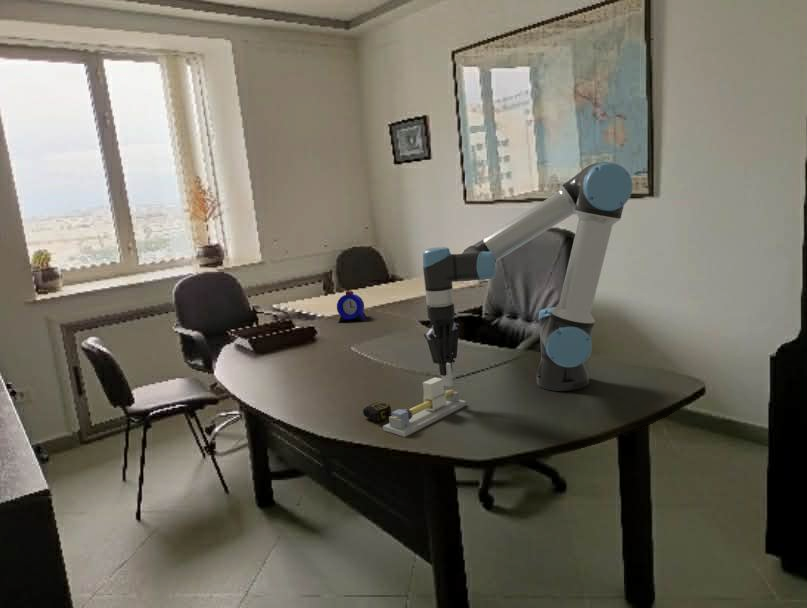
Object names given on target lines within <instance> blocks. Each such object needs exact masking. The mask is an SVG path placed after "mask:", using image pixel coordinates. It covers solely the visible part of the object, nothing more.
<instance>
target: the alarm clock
mask: <svg viewBox="0 0 807 608" xmlns="http://www.w3.org/2000/svg"><path fill="white" fill-rule="evenodd" d="M364 302H365V301H364V300H363V299H362V297H360V295H358V294H354V292H353V291H352V290H348V291H345V294H344V295H342V296H340V298H339V299H338V301H337V304H336V310H337V311H336V312H337V313H338V315H340V317H339V320H338V324H339V323H341V322H344V321H346V320H352V319H355V320H358V321H360V322H363V321H364V320H365V319H366V318H367V315H366V314H365V313H364V310H365V303H364Z"/></svg>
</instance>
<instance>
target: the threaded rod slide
mask: <svg viewBox="0 0 807 608" xmlns="http://www.w3.org/2000/svg"><path fill="white" fill-rule="evenodd" d="M444 393H445V395H446V405H447V406H445V407H443V408H441V409H439V410H437V411H435V412H434V411H430V410H426V409H427V408H429V407H431V406H432V400H428V401H426V402H424V401H423V403H420V404H417V405H416V406H414V407H411V408H404V409H401V408H398V409H396V410H394V411H391V415H390V416H389V417H388V421H389V423H387V424H384V425H382V429H383V432H384V431H385V432H388V433H391V434H395V435H398V436H400V437H403V438H405V437H408V436H409V435H412V434H414V433H415V432H417V431H419V430H421V429H423V428H426V427H427V426H429V425H431V424H433V423H434V422H437V421H439V420H441V419H442V418H444V417H446V416H448V415H450V414H452V413H455V412H456V411H458V410H460V409H462V408H464V407H466V406H467V400H462V399H460V393H459V392H458V391H455V390H453V389H446V390H445V389H444Z"/></svg>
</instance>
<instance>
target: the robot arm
mask: <svg viewBox="0 0 807 608" xmlns="http://www.w3.org/2000/svg"><path fill="white" fill-rule="evenodd" d="M632 193H633V179H632V177H631V175H630V172H628V170H627V169H626V168H625V167H623V166H622V165H620V164H618V163H615V162H612V161H609V162H608V161H601V162H596V163H592V164H589V165H587V166H586V167H584V168H583V169H582V170H580V172H578V173H576V175H574V176H573V177H571V179H569V180H567V181H566V182H565V183H563V184H562V185H560V187H559V191H557V192H555V193H554V194H553V195H551V196H549V197H548V198H546V199H545V200H543V201H541V202H540V203H538V204H536V205H535V206H534V207H531V208H530V209H529V210H526V212H524V213H522V214H521V215H519V216H518V217H516V218H514V219H513V220H511V221H509V222H508V223H506V224H505V225H503V226H502V227H500V228H498V229H496V231H494V232H492V233H490V235H488V236H486V237H484V238H483V239H482V240H480V241H478V242H477V243H475V244H473V245H469V246H468V247H467V248H465V249H464V251H463V252H462V253H451V252H450V248H448V247H444V246H441V247H440V246H439V247H432V248H427V249H425V250H424V251H423V252H422V269H423V270H422V271H423V280H424V288H425V299H426V300H425V301H426V304H427V307H426V312H427V318H428V319H429V321H430V324H429V330H428V332H424V333H423V337H424V338H425V339H426V341H427V344H428V348H429V352H430V355H431V359H432V363H433V364H437V365H438V367H439V375H440V376H441V377H440V378H441V379H443V385H444V387H449V388H450V387H453V364H454V363H455V362H456V358H458V345H459V333H460V329H461V324H460V323H456V322H455V320H454V318H455V316H456V312H455V304H454V302H455V298H454V289H453V288H454V287H453V283H454V282H456V283H457V282H468V281H485V280H492V279H494V278H495V277H496V262H497V261H499V260H501V259H503V258H504V257H505V256H507V255H510V253H512V252H514V251H516V250H517V249H519V248H520V247H521V246H524V245H525V244H527V243H529V242H530V241H532V240H534V239H535V238H536V237H538V236H540V235H541V234H543V233H546V232H547V231H548V230H550V229H552V228H553V227H554V226H556V225H558V224H560V223H561V222H563V221H564V220H566V219H568V218H570V217H571V216H573V215H576V216H577V217H578V221H577V225H576V230H575V235H574V238H573V243H572V247H571V250H570V254H569V255H570V256H569V259H568V262H567V263H568V264H567V268H566V272H565V275H564V276H565V277H564V281H563V285H562V288H561V289H562V290H561V293H560V297H559V302H558V305H557V306H555V307H554V306H553V307H546V308H542V309H540V310H539V312H538V323H539V327H538V328H539V340H540V343H539V344H540V357H541V358H540V362H539V366H538V369H537V374H536V385H537V386H538V387H540V388H542V389H544V390H548V391H553V392H570V391H577V390H580V389H583V388H585V387H587V386H588V385H589V384H590V377H589V373H588V370H587V367H586V365H585V362H586V361H587V360H588V359H589V357H590V355H591V353H592V350H593V342H592V341H593V340H592V338H591V337H592V333H593V329H594V326H595V321H596V320H595V318H594V317H593V315H592V309H593V305H594V301H595V297H596V293H597V289H598V284H599V280H600V277H601V273H602V269H603V265H604V261H605V257H606V253H607V249H608V244H609V240H610V237H611V232H612V229H613V226H614V225H615V224H616V223H618V222H619V221H620V220H621V219H622V215H623V211H624V206H625V205H626V204H627V202H628V201H629V199H630V198H631V196H632Z"/></svg>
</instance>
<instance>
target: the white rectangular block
mask: <svg viewBox="0 0 807 608" xmlns="http://www.w3.org/2000/svg"><path fill="white" fill-rule="evenodd" d="M422 389H423V397H422V398H423V403H424V402H426V401H428V400H432V406H431V407H429V408H427V409H426V410H430V411H434V412H435V411H437V410H439V409H441V408H443V407H445V406H447V405H446V395H445V393H444V391H445V386H444V385H443V379H442V378H441V377H435V376H434V377H432V378H430V379H428V380H426V381H423V382H422Z"/></svg>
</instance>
